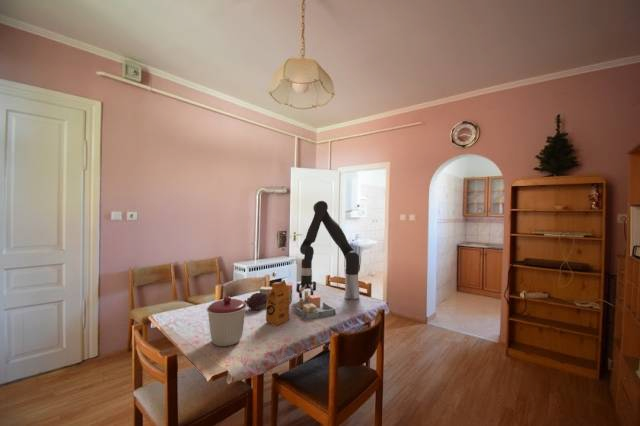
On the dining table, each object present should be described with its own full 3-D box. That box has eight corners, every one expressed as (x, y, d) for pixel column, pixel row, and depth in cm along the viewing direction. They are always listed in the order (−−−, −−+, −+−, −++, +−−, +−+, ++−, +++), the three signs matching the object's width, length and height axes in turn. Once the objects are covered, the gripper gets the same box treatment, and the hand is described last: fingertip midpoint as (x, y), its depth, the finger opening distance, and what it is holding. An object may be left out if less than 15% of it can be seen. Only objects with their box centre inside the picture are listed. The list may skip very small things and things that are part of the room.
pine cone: (265, 303, 182) (265, 288, 182) (273, 307, 175) (274, 292, 175) (240, 309, 170) (240, 293, 170) (248, 314, 163) (248, 297, 163)
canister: (252, 343, 127) (253, 298, 127) (211, 355, 117) (212, 305, 117) (239, 329, 142) (239, 289, 142) (202, 338, 132) (202, 294, 131)
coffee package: (263, 322, 151) (263, 282, 151) (278, 315, 162) (279, 278, 161) (276, 327, 146) (276, 285, 145) (291, 319, 156) (292, 281, 156)
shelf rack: (324, 306, 178) (324, 302, 178) (335, 314, 165) (335, 309, 165) (295, 311, 168) (295, 306, 168) (305, 319, 156) (305, 314, 156)
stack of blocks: (259, 303, 183) (259, 284, 183) (261, 300, 190) (261, 282, 190) (291, 303, 184) (291, 285, 183) (292, 300, 190) (292, 282, 190)
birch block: (304, 307, 175) (305, 298, 175) (316, 316, 161) (316, 306, 161) (296, 309, 173) (296, 299, 172) (307, 318, 158) (307, 308, 158)
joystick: (309, 298, 193) (309, 290, 193) (320, 306, 178) (320, 297, 178) (301, 300, 190) (301, 291, 190) (311, 307, 176) (311, 298, 175)
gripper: (313, 271, 197) (313, 294, 197) (294, 273, 190) (294, 297, 190) (318, 274, 190) (317, 297, 190) (299, 276, 183) (298, 300, 184)
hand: (306, 297), depth 190 cm, fingers open, 7 cm apart
